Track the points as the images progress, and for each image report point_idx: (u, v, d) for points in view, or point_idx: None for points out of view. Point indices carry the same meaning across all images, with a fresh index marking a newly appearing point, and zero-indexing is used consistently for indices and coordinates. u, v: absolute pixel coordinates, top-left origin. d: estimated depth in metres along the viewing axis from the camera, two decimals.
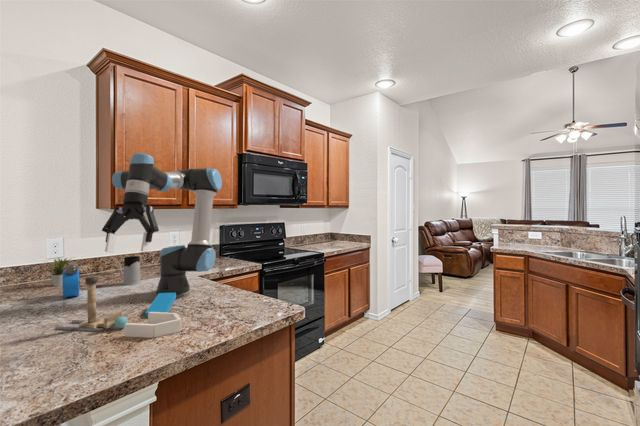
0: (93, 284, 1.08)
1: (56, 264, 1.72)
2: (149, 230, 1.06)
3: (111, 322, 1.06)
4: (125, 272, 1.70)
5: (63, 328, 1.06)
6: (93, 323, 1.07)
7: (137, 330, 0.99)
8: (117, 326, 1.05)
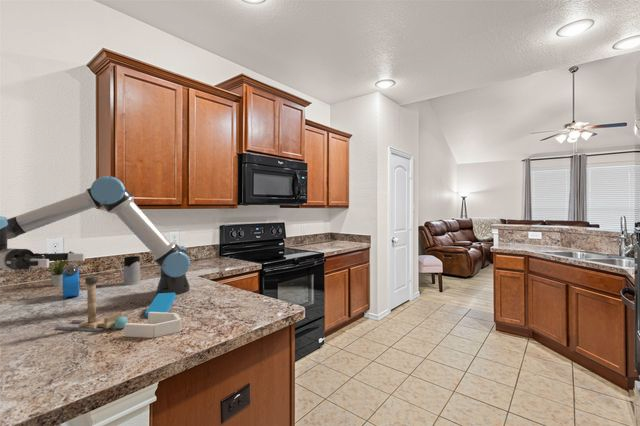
0: (93, 284, 1.08)
1: (56, 264, 1.72)
2: (24, 266, 1.02)
3: (111, 322, 1.06)
4: (125, 272, 1.70)
5: (63, 328, 1.06)
6: (93, 323, 1.07)
7: (137, 330, 0.99)
8: (117, 326, 1.05)
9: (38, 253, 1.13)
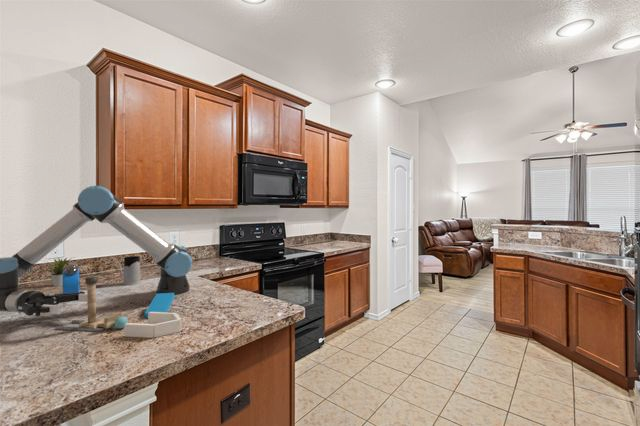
0: (93, 284, 1.08)
1: (56, 264, 1.72)
2: (36, 313, 1.01)
3: (111, 322, 1.06)
4: (125, 272, 1.70)
5: (63, 328, 1.06)
6: (93, 323, 1.07)
7: (137, 330, 0.99)
8: (117, 326, 1.05)
9: (49, 295, 1.13)
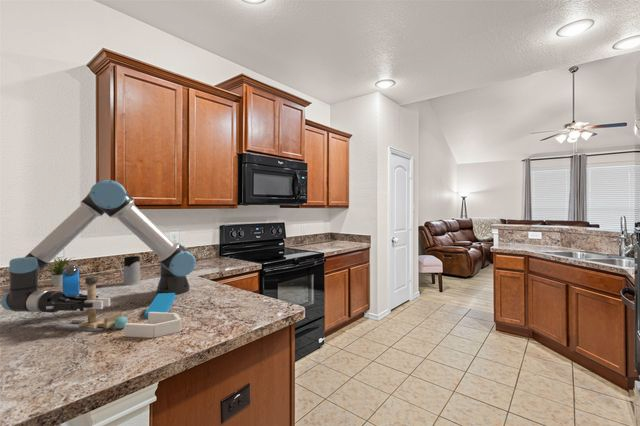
0: (93, 284, 1.08)
1: (56, 264, 1.72)
2: (80, 308, 1.06)
3: (111, 322, 1.06)
4: (125, 272, 1.70)
5: (63, 328, 1.06)
6: (93, 323, 1.07)
7: (137, 330, 0.99)
8: (117, 326, 1.05)
9: None
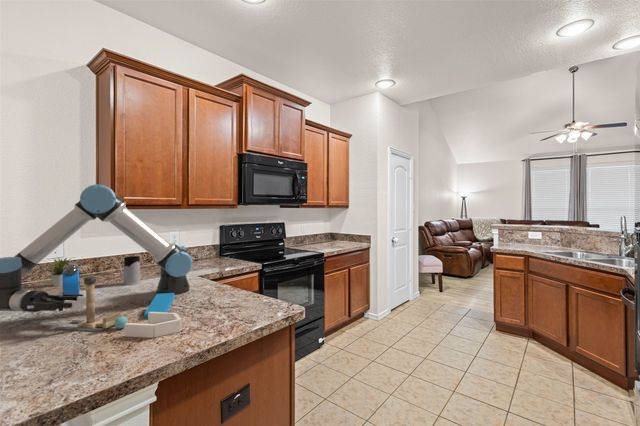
0: (92, 284, 1.08)
1: (56, 264, 1.72)
2: (59, 308, 1.06)
3: (110, 322, 1.06)
4: (125, 272, 1.70)
5: (63, 328, 1.06)
6: (92, 323, 1.07)
7: (137, 330, 0.99)
8: (117, 326, 1.05)
9: (53, 295, 1.12)
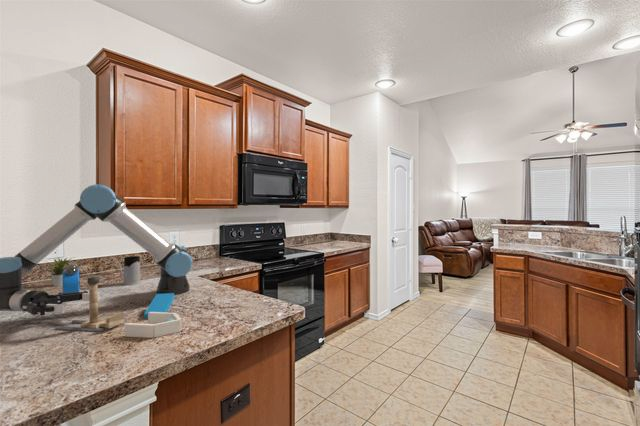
0: (95, 284, 1.08)
1: (56, 264, 1.72)
2: (40, 312, 1.02)
3: (113, 322, 1.06)
4: (125, 272, 1.70)
5: (63, 328, 1.06)
6: (95, 323, 1.07)
7: (137, 330, 0.99)
8: None
9: None
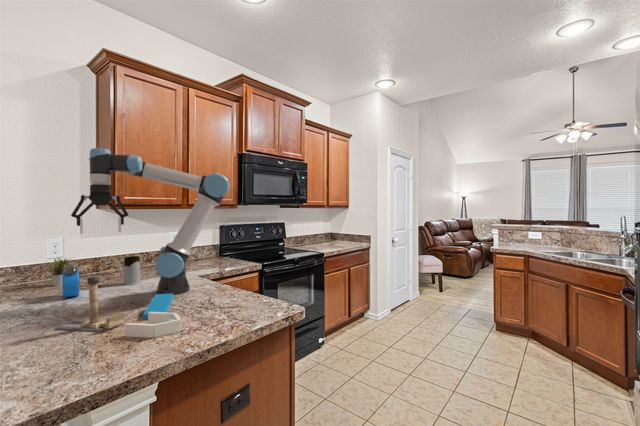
0: (95, 284, 1.08)
1: (56, 264, 1.72)
2: None
3: (113, 322, 1.06)
4: (125, 272, 1.70)
5: (63, 328, 1.06)
6: (95, 323, 1.07)
7: (137, 330, 0.99)
8: None
9: (107, 200, 1.33)
